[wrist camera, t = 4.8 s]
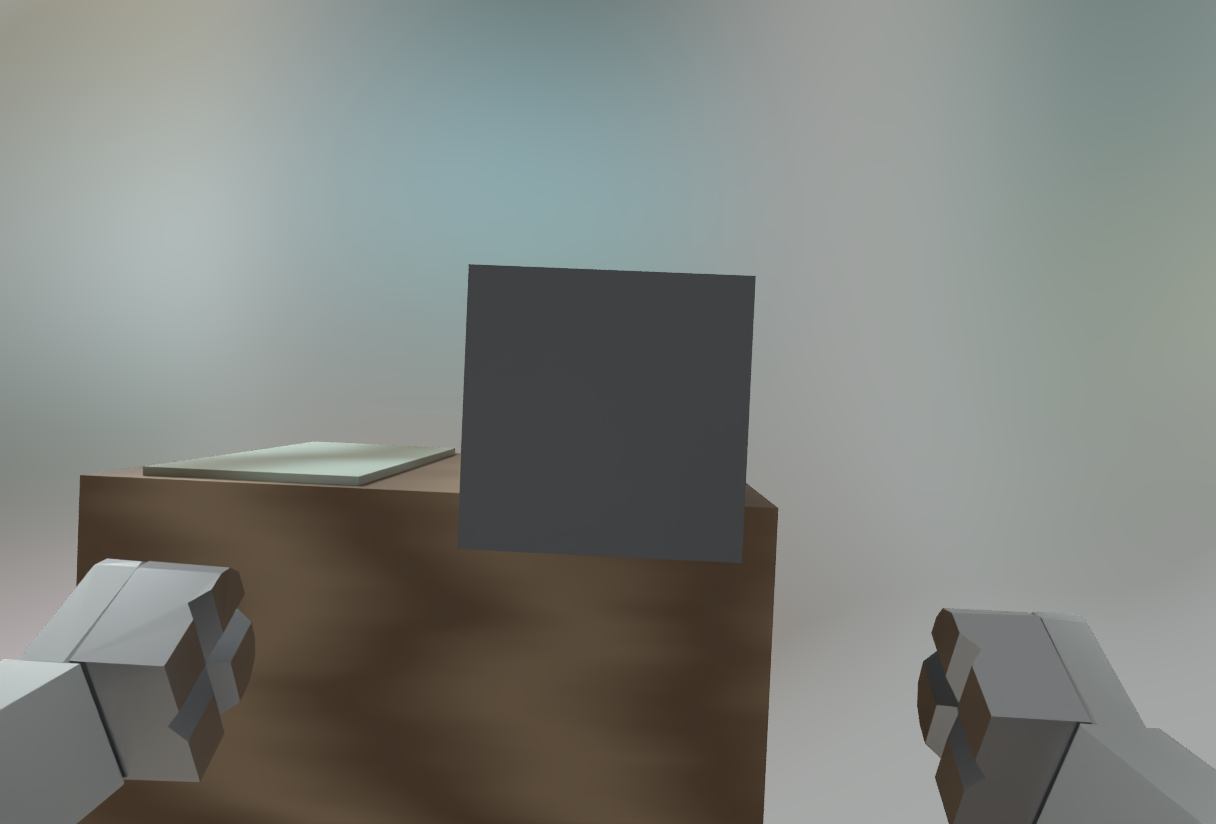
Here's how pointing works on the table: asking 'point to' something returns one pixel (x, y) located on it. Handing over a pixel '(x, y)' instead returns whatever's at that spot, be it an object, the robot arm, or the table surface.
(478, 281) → the dark grey square bar
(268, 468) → the panel block
